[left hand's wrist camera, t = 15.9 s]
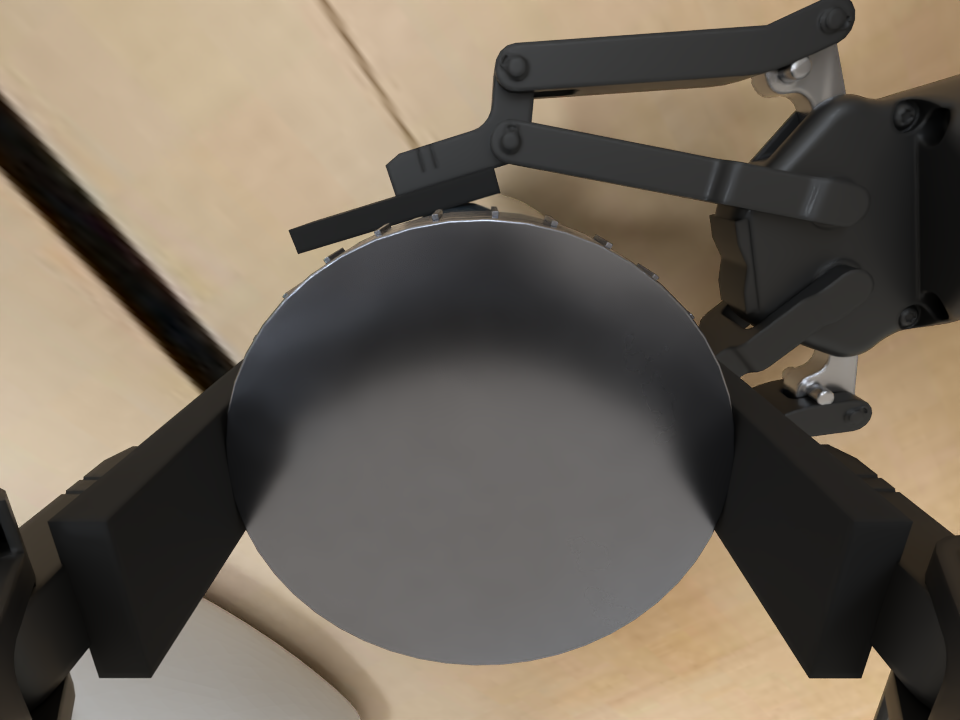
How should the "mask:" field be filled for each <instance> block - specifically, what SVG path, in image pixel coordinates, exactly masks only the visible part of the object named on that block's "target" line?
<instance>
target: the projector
mask: <svg viewBox="0 0 960 720" xmlns="http://www.w3.org/2000/svg"><path fill="white" fill-rule="evenodd" d="M70 675H71V678H72V680H73V683H74V689H75V701H74V707H73V713H72V718H71V720H361V719H360V716H359V714H358V712H357V711H356V709H355V708H354V707H353V706H352V705H351V703H350V702H349V701H348V700H347V699H346V698H345V697H344V696H343V695H341V694H340V693H339V692H338V691H337V690H336V689H335V688H334V687H333V686H332V685H330V684H329V683H328V682H327V681H326V680H324V679H323V678H322V677H321V676H320V675H319V674H317V673H316V672H315V671H313V670H312V669H311V668H310V667H308V666H307V665H306V664H304V663H303V662H302V661H301V660H299V659H298V658H297V657H295V656H294V655H293V654H291V653H290V652H288V651H287V650H286V649H284V648H283V647H281V646H280V645H279V644H277V643H276V642H274V641H273V640H272V639H270V638H269V637H267V636H265V635H264V634H262V633H261V632H259V631H258V630H256V629H255V628H253V627H252V626H250V625H249V624H247V623H246V622H244V621H242V620H241V619H239V618H237V617H236V616H234V615H232V614H231V613H229V612H227V611H226V610H224V609H222V608H221V607H219V606H217V605H215V604H214V603H212V602H210V601H208V600H206V599H205V598H202V599H201V601H200V602H199V604H198V606H197V607H196V609H195V610H194V612H193V613H192V615H191V617H190V618H189V620H188V621H187V623H186V624H185V626H184V628H183V629H182V631H181V632H180V634H179V635H178V637H177V639H176V640H175V642H174V643H173V645H172V646H171V648H170V649H169V651H168V653H167V654H166V656H165V657H164V659H163V660H162V662H161V664H160V665H159V667H158V668H157V670H156V671H155V673H154V675H153V676H152V678H99V676H98V673H97V670H96V667H95V664H94V661H93V658H92V655H91V652H90V649H88V650H87V651H86V652H85V653H84V655H83V656H82V657H81V658H80V660H79V661H78V662H77V663H76V665H75V666H74V667H73V668H72V670H71V671H70Z"/></svg>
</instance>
